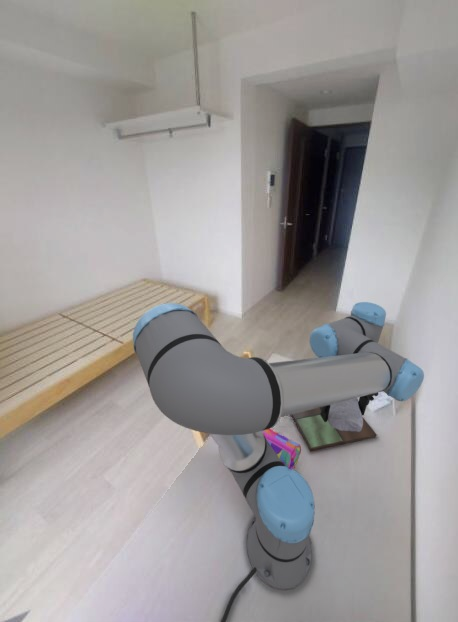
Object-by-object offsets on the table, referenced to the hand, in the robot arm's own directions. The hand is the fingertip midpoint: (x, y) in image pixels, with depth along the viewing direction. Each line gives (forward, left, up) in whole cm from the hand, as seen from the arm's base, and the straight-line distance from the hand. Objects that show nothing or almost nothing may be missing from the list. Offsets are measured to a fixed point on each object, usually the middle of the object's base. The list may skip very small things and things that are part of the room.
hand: (341, 415), depth 82 cm
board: (+3, +11, -14) cm, 18 cm away
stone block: (0, 0, 0) cm, 1 cm away
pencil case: (-23, +3, -14) cm, 27 cm away
